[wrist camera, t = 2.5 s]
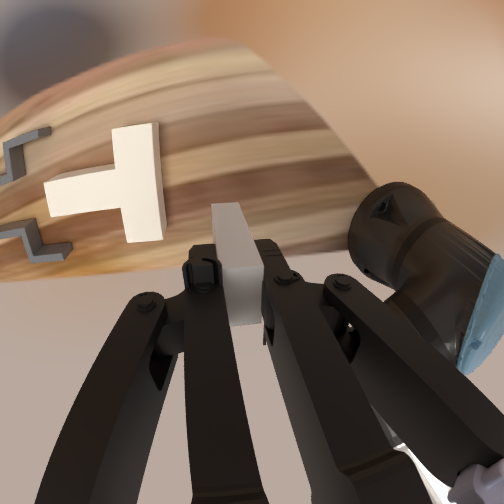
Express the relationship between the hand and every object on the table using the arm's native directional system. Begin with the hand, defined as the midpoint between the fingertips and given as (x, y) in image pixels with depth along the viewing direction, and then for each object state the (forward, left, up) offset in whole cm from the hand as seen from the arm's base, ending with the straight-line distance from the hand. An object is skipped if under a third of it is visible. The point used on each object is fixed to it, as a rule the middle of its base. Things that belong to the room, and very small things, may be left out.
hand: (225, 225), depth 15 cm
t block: (+12, 0, -16) cm, 20 cm away
